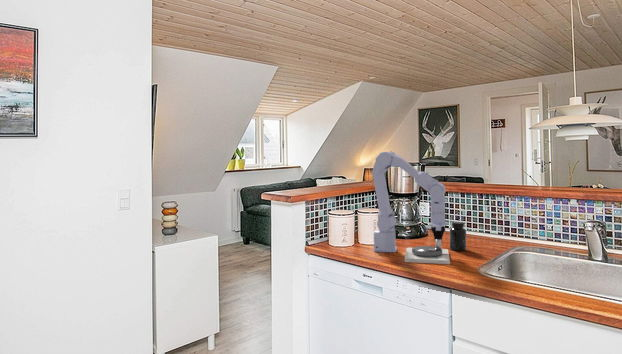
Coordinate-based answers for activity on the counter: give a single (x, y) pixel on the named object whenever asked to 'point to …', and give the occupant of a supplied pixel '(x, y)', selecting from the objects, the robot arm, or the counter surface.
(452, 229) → the supplement bottle
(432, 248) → the dial
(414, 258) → the dial plate
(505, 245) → the counter surface
